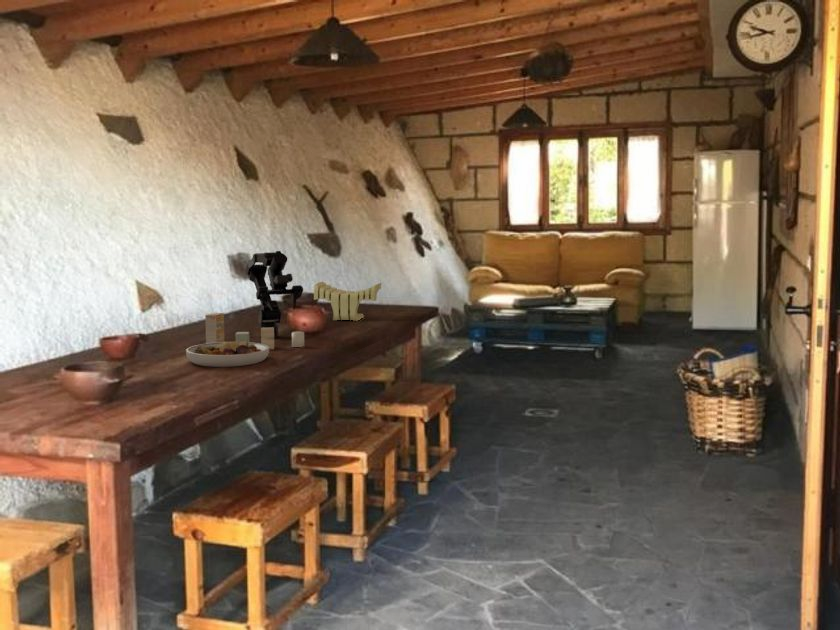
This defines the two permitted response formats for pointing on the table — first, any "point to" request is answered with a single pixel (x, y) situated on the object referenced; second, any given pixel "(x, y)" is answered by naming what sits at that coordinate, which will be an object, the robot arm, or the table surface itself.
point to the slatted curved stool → (345, 300)
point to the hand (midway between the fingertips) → (283, 309)
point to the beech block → (267, 337)
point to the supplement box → (214, 327)
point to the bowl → (227, 354)
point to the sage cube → (242, 336)
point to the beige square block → (297, 339)
